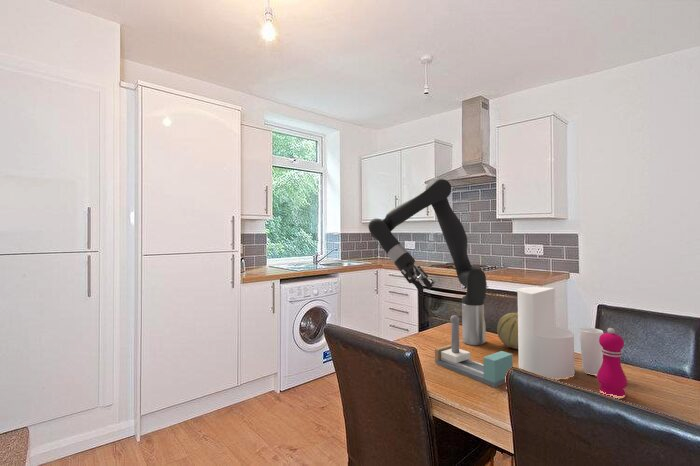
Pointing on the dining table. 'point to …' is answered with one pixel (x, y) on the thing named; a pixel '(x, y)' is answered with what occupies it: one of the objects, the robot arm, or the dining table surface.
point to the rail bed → (480, 366)
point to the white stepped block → (543, 335)
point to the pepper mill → (611, 364)
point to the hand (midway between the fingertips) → (426, 288)
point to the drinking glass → (591, 349)
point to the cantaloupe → (508, 330)
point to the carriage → (455, 344)
